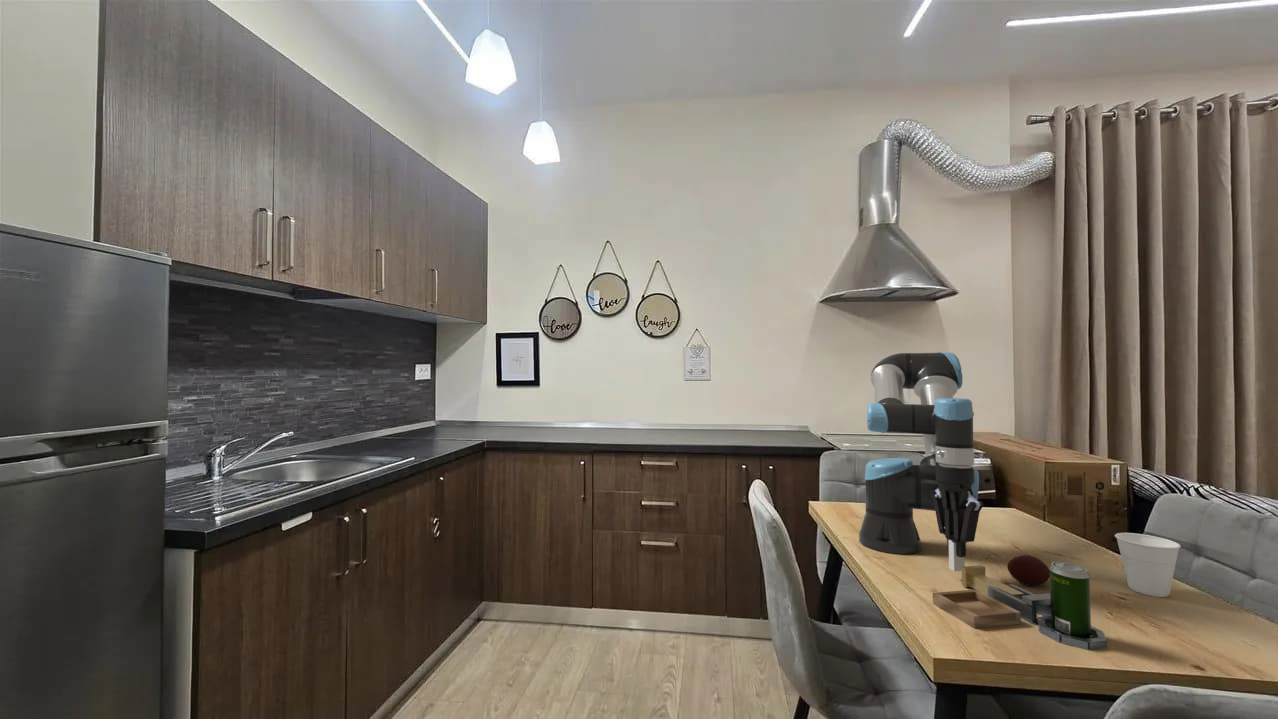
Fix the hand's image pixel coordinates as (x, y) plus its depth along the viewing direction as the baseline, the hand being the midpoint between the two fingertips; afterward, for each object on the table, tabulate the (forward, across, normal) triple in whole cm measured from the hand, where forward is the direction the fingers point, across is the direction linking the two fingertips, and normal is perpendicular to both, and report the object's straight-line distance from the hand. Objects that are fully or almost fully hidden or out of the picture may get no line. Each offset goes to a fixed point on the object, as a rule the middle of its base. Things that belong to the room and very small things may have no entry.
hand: (956, 569), depth 112 cm
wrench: (+2, +20, 0) cm, 20 cm away
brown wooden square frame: (+2, +15, -10) cm, 18 cm away
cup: (+2, +12, +35) cm, 38 cm away
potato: (+2, +5, +14) cm, 15 cm away
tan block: (+2, +9, 0) cm, 10 cm away
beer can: (+3, +25, 0) cm, 25 cm away
